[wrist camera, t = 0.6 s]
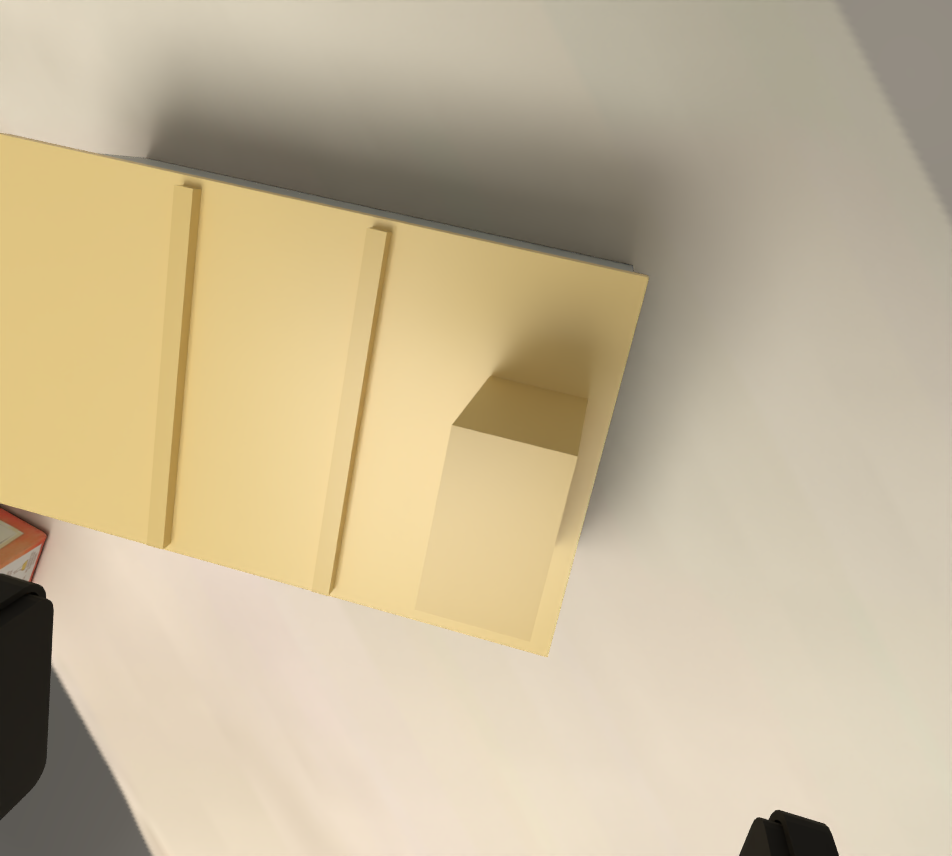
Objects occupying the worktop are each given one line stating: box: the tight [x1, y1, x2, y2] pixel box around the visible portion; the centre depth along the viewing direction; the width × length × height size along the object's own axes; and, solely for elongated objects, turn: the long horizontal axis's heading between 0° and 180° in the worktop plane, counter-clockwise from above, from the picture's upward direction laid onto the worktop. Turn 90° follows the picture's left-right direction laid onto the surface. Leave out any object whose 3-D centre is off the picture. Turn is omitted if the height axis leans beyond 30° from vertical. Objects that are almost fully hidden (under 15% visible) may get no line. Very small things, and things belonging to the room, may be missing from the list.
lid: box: [0, 133, 649, 657], centre depth 23 cm, size 21×13×6 cm, turn 79°
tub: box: [97, 153, 633, 272], centre depth 29 cm, size 20×12×7 cm, turn 79°
